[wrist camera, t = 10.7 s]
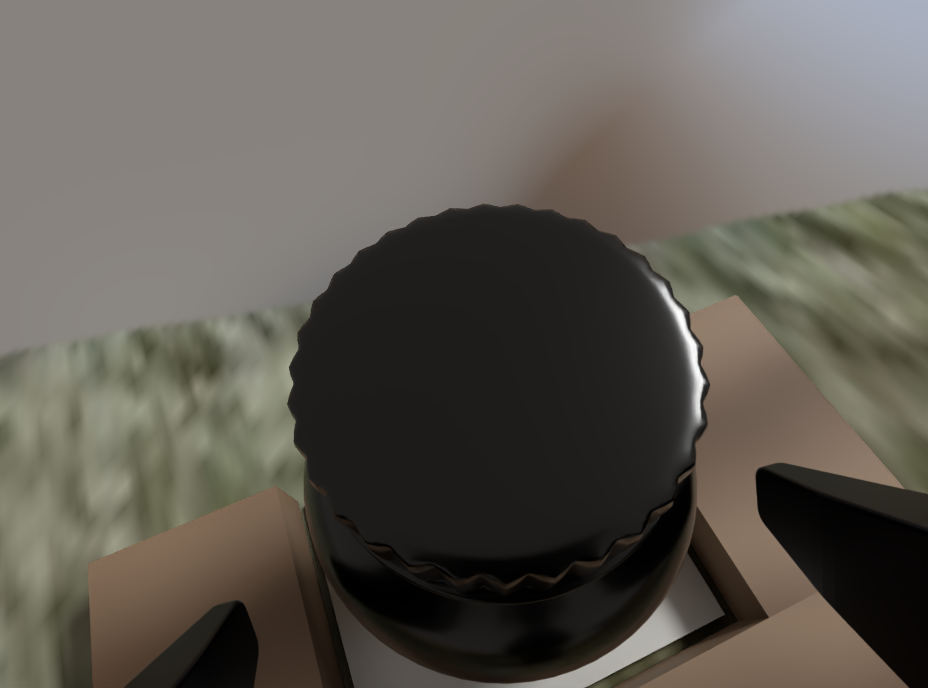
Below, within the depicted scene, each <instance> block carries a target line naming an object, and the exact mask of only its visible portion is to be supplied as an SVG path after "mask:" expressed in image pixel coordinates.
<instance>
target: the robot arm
mask: <svg viewBox="0 0 928 688" xmlns="http://www.w3.org/2000/svg"><path fill="white" fill-rule="evenodd" d="M755 481H756V495H757V508H758V513H759V516H760V518H761V520H762V522H763V523H764V525H765V526H766V527H767V528H768V530H769V531H770V532H771V533H772V535H773V536H774V537H775V538H776V540H777V541H778V542H779V544H780V545H781V546H782V547H783V549H784V550H785V551H786V552H787V554H788V555H789V556H790V557H791V559H792V560H793V561H794V562H795V564H796V565H797V566H798V567H799V569H800V570H801V571H802V572H803V574H804V575H805V576H806V577H807V579H808V580H809V581H810V582H811V584H812V585H813V586H814V587H815V589H816V590H817V591H818V592H819V593H820V594H821V596H822V597H823V598H824V599H825V600H826V601H827V602H828V603H829V605H830V606H831V607H832V608H833V609H834V610H835V611H836V612H837V613H838V614H839V615H840V616H841V617H842V618H843V620H844V621H845V622H846V623H847V624H848V625H849V626H850V627H851V628H852V629H853V630H854V631H855V632H856V633H857V634H858V635H859V636H860V637H861V638H862V639H863V640H864V641H865V643H866V644H867V645H868V646H869V647H870V648H871V649H872V650H873V651H874V652H875V653H876V654H877V655H878V656H879V657H880V658H881V659H882V660H883V661H884V662H885V663H886V664H887V666H888V667H889V668H890V669H891V670H892V671H893V672H894V673H895V674H896V675H897V676H898V677H899V678H900V679H901V680H902V681H903V682H904V683H905V684H906V685H907V686H908V688H928V494H925V493H921V492H916V491H911V490H907V489H902V488H898V487H893V486H888V485H884V484H879V483H875V482H870V481H865V480H861V479H856V478H852V477H847V476H842V475H838V474H833V473H828V472H824V471H819V470H815V469H810V468H805V467H801V466H796V465H792V464H787V463H782V462H780V463H774V464H770V465H766V466H762V467H759V468H758V469H757V471H756V474H755ZM258 657H259V644H258V639H257V636H256V633H255V630H254V628H253V625H252V622H251V620H250V617H249V614H248V611H247V609H246V606H245V604H244V603H243V602H242V601H240V600H233V601H229V602H225V603H221V604H217V605H215V606H213V607H212V608H211V609H210V610H209V611H208V612H207V613H205V614H204V615H203V616H202V617H201V618H200V619H199V620H198V621H197V622H195V623H194V624H193V625H192V626H191V627H190V628H189V629H188V630H187V631H185V632H184V633H183V634H182V635H181V636H180V637H179V638H178V639H177V640H176V641H174V642H173V643H172V644H171V645H170V646H169V647H168V648H167V649H166V650H164V651H163V652H162V653H161V654H160V655H159V656H158V657H157V658H156V659H154V660H153V661H152V662H151V663H150V664H149V665H148V666H147V667H146V668H144V669H143V670H142V671H141V672H140V673H139V674H138V675H137V676H136V677H135V678H133V679H132V680H131V681H130V682H129V683H128V684H127V685H126V686H125V687H123V688H254V685H255V678H256V671H257V664H258Z"/></svg>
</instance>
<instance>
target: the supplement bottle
mask: <svg viewBox="0 0 928 688" xmlns="http://www.w3.org/2000/svg"><path fill="white" fill-rule="evenodd" d="M298 345H299V349H298V351H297V353H296V354H295V356H294V358H293V360H292V362H291V364H290V366H289V370H290V375H291V378H292V380H293V383H294V384H293V387H292V390H291V392H290V396H289V400H288V403H287V405H288V408H289V410H290V412H291V414H292V416H293V418H294V419H295V420H296V423H295V429H294V444H295V447H296V448H297V449H298V451H299V452H300V453H301V454H302V455H303V457H304V458H305V468H304V502H305V510H306V518H307V522H308V527H309V531H310V536H311V539H312V542H313V545H314V548H315V551H316V554H317V557H318V559H319V562H320V564H321V566H322V568H323V570H324V573H325V575H326V577H327V578H328V580H329V582H330V584H331V585H332V587H333V589H334V590H335V592H336V594H337V595H338V597H339V598H340V599H341V601H342V602H343V603H344V605H345V606H346V607H347V609H348V610H349V611H350V612H351V614H352V615H353V616H354V617H355V618H356V619H357V620H358V621H359V622H360V623H361V624H362V626H363V627H364V628H366V629H367V630H368V631H369V632H370V633H371V634H372V635H374V636H375V637H376V638H377V639H378V640H379V641H380V642H382V643H383V644H385V645H386V646H388V647H389V648H391V649H392V650H393V651H395V652H396V653H398V654H399V655H401V656H403V657H405V658H407V659H409V660H410V661H412V662H414V663H416V664H418V665H420V666H423V667H425V668H427V669H430V670H432V671H435V672H437V673H440V674H444V675H447V676H451V677H455V678H458V679H462V680H468V681H475V682H481V683H498V684H512V683H525V682H533V681H538V680H543V679H548V678H553V677H556V676H559V675H563V674H566V673H569V672H572V671H575V670H577V669H579V668H581V667H584V666H586V665H588V664H590V663H592V662H594V661H596V660H598V659H600V658H601V657H603V656H605V655H606V654H608V653H609V652H611V651H613V650H614V649H616V648H617V647H618V646H620V645H621V644H622V643H623V642H625V641H626V640H627V639H628V638H630V637H631V636H632V635H633V634H634V633H635V632H636V631H637V630H638V629H639V628H640V627H641V626H642V625H643V624H644V623H645V622H646V621H647V620H648V619H649V618H650V617H651V616H652V614H653V613H654V612H655V611H656V609H657V608H658V607H659V606H660V604H661V603H662V602H663V600H664V599H665V597H666V595H667V594H668V592H669V590H670V589H671V587H672V586H673V584H674V582H675V580H676V578H677V576H678V574H679V571H680V569H681V567H682V565H683V562H684V560H685V557H686V554H687V551H688V548H689V545H690V541H691V537H692V532H693V528H694V524H695V516H696V508H697V474H696V447H695V444H696V443H697V442H698V441H699V440H700V438H701V437H702V435H703V434H704V433H705V431H706V430H707V427H708V421H707V414H706V411H705V409H704V404H703V402H704V401H705V399H706V397H707V394H708V391H709V388H710V382H709V380H708V377H707V375H706V373H705V371H704V369H703V367H702V366H701V360H702V357H703V345H702V344H701V342H700V341H699V339H698V338H697V337H696V335H695V334H694V333H693V331H692V330H691V320H690V314H689V311H688V310H687V309H686V308H685V307H684V306H683V305H682V304H681V303H680V302H678V301H677V300H676V299H675V298H674V296H673V291H672V287H671V285H670V282H669V281H667V280H666V279H665V278H663V277H662V276H660V275H659V274H657V273H656V272H654V271H653V270H652V269H651V267H650V265H649V262H648V261H647V259H646V258H645V256H643V255H641V254H639V253H637V252H635V251H633V250H630V249H628V248H626V246H625V245H624V244H623V243H622V241H621V240H620V239H619V238H618V237H617V236H616V235H613V234H609V233H606V232H602V231H599V230H597V229H596V228H595V227H593V226H592V225H591V224H590V223H588V222H587V221H586V220H582V219H575V218H567V217H564V216H562V215H561V214H560V213H558V212H556V211H554V210H533V209H530V208H527V207H525V206H522V205H519V204H516V205H509V206H503V207H498V206H493V205H488V204H482V205H478V206H475V207H472V208H469V209H459V208H456V209H455V208H450V209H448V210H446V211H444V212H442V213H440V214H438V215H436V216H430V217H420V218H417V219H416V220H414V221H412V222H411V223H410V224H408V225H407V226H406V227H404V228H400V229H396V230H393V231H389V232H387V233H386V234H385V235H384V236H383V237H381V239H380V240H379V241H378V242H377V243H376V244H374V245H372V246H370V247H366V248H364V249H362V250H360V251H359V252H358V253H357V255H356V256H355V257H354V259H353V260H352V262H351V264H350V265H348V266H347V267H345V268H343V269H341V270H340V271H338V272H336V273H335V274H334V275H333V277H332V279H331V282H330V284H329V287H328V289H327V290H326V291H325V292H324V293H322V294H321V295H319V296H318V297H317V298H316V299H315V300H314V301H313V304H312V308H311V314H310V318H309V319H308V320H307V321H306V322H305V324H304V325H303V326H302V327H301V329H300V330H299V332H298Z"/></svg>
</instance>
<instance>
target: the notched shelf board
mask: <svg viewBox="0 0 928 688" xmlns="http://www.w3.org/2000/svg"><path fill="white" fill-rule="evenodd" d="M690 320H691V330H692V331H693V333H694V334H695V335H696V337H697V338H698V339H699V341H700V342H701V344H702V345H703V357H702V360H701V366H702V367H703V369H704V371H705V373H706V375H707V377H708V380H709V382H710V388H709V391H708V394H707V397H706V399H705V401H704V402H703V404H704V409H705V411H706V414H707V421H708V427H707V430H706V431H705V433H704V434H703V435H702V437H701V438H700V440H699V441H698V442H697V443H696V444H695V447H696V474H697V508H696V516H695V524H694V528H693V532H692V537H691V541H690V544H691V546H692V548H693V549H694V551H695V552H696V554H697V556H698V557H699V559H700V560H701V562H702V564H703V565H704V567H705V569H706V570H707V572H708V573H709V575H710V577H711V578H712V580H713V582H714V583H715V585H716V586H717V588H718V590H719V591H720V593H721V595H722V596H723V598H724V599H725V601H726V603H727V604H728V606H729V607H730V609H731V611H732V612H733V614H734V616H735V617H736V619H737V620H738V621H737V622H735V623H733V624H731V625H729V626H727V627H725V628H724V629H722V630H720V631H718V632H716V633H714V634H712V635H710V636H708V637H707V638H705V639H703V640H701V641H699V642H697V643H695V644H693V645H691V646H690V647H688V648H686V649H684V650H682V651H680V652H678V653H676V654H674V655H672V656H671V657H669V658H667V659H665V660H663V661H661V662H659V663H657V664H655V665H654V666H652V667H650V668H648V669H646V670H644V671H642V672H640V673H638V674H636V675H635V676H633V677H631V678H629V679H627V680H625V681H623V682H621V683H619V684H618V685H616V686H614V687H612V688H908V686H907V685H906V684H905V683H904V682H903V681H902V680H901V679H900V678H899V677H898V676H897V675H896V674H895V673H894V672H893V671H892V670H891V669H890V668H889V667H888V666H887V664H886V663H885V662H884V661H883V660H882V659H881V658H880V657H879V656H878V655H877V654H876V653H875V652H874V651H873V650H872V649H871V648H870V647H869V646H868V645H867V644H866V643H865V641H864V640H863V639H862V638H861V637H860V636H859V635H858V634H857V633H856V632H855V631H854V630H853V629H852V628H851V627H850V626H849V625H848V624H847V623H846V622H845V621H844V620H843V618H842V617H841V616H840V615H839V614H838V613H837V612H836V611H835V610H834V609H833V608H832V607H831V606H830V605H829V603H828V602H827V601H826V600H825V599H824V598H823V597H822V596H821V594H820V593H819V592H818V591H817V590H816V589H815V587H814V586H813V585H812V584H811V582H810V581H809V580H808V579H807V577H806V576H805V575H804V574H803V572H802V571H801V570H800V569H799V567H798V566H797V565H796V564H795V562H794V561H793V560H792V559H791V557H790V556H789V555H788V554H787V552H786V551H785V550H784V549H783V547H782V546H781V545H780V544H779V542H778V541H777V540H776V538H775V537H774V536H773V535H772V533H771V532H770V531H769V530H768V528H767V527H766V526H765V525H764V523H763V522H762V520H761V518H760V516H759V513H758V508H757V495H756V481H755V474H756V471H757V469H758V468H759V467H762V466H766V465H770V464H774V463H780V462H782V463H787V464H792V465H796V466H801V467H805V468H810V469H815V470H819V471H824V472H828V473H833V474H838V475H842V476H847V477H852V478H856V479H861V480H865V481H870V482H875V483H879V484H884V485H888V486H893V487H898V488H902V489H904V488H903V486H902V485H901V484H900V483H899V482H898V481H897V479H896V478H895V477H894V476H893V475H892V474H891V473H890V471H889V470H888V469H887V468H886V467H885V466H884V464H883V463H882V462H881V461H880V460H879V459H878V458H877V456H876V455H875V454H874V453H873V452H872V451H871V449H870V448H869V447H868V446H867V445H866V444H865V443H864V441H863V440H862V439H861V438H860V437H859V436H858V434H857V433H856V432H855V431H854V430H853V429H852V428H851V426H850V425H849V424H848V423H847V422H846V421H845V420H844V418H843V417H842V416H841V415H840V414H839V413H838V411H837V410H836V409H835V408H834V407H833V406H832V405H831V403H830V402H829V401H828V400H827V399H826V398H825V396H824V395H823V394H822V393H821V392H820V391H819V390H818V388H817V387H816V386H815V385H814V384H813V383H812V381H811V380H810V379H809V378H808V377H807V376H806V375H805V373H804V372H803V371H802V370H801V369H800V368H799V366H798V365H797V364H796V363H795V362H794V361H793V360H792V358H791V357H790V356H789V355H788V354H787V353H786V351H785V350H784V349H783V348H782V347H781V346H780V345H779V343H778V342H777V341H776V340H775V339H774V338H773V336H772V335H771V334H770V333H769V332H768V331H767V330H766V328H765V327H764V326H763V325H762V324H761V323H760V322H759V320H758V319H757V318H756V317H755V316H754V315H753V313H752V312H751V311H750V310H749V309H748V308H747V307H746V305H745V304H744V303H743V302H742V301H741V300H740V298H739V297H738V296H737V295H735V296H733V297H730V298H728V299H726V300H723V301H721V302H718V303H716V304H713V305H711V306H709V307H706V308H704V309H701V310H699V311H697V312H694V313H692V314H690ZM325 577H326V575H325ZM326 581H327V584H328V588H329V592H330V596H331V600H332V604H333V608H334V611H335V615H336V619H337V623H338V627H339V631H340V634H341V638H342V642H343V646H344V650H345V654H346V658H347V661H348V665H349V669H350V673H351V677H352V681H353V684H354V688H585V687H587V686H589V685H591V684H593V683H595V682H597V681H599V680H601V679H603V678H605V677H606V676H608V675H610V674H612V673H614V672H616V671H618V670H620V669H622V668H624V667H626V666H627V665H629V664H631V663H633V662H635V661H637V660H639V659H641V658H643V657H645V656H647V655H648V654H650V653H652V652H654V651H656V650H658V649H660V648H662V647H664V646H666V645H668V644H670V643H671V642H673V641H675V640H677V639H679V638H681V637H683V636H685V635H687V634H689V633H691V632H692V631H694V630H696V629H698V628H700V627H702V626H704V625H706V624H708V623H710V622H712V621H713V620H715V619H717V618H719V617H721V616H723V615H725V613H724V612H723V610H722V609H721V607H720V605H719V604H718V602H717V600H716V599H715V597H714V595H713V594H712V592H711V590H710V589H709V587H708V586H707V584H706V582H705V581H704V579H703V577H702V576H701V574H700V572H699V571H698V569H697V568H696V566H695V564H694V563H693V561H692V559H691V558H690V556H689V554H688V553H687V554H686V557H685V560H684V562H683V565H682V567H681V569H680V571H679V574H678V576H677V578H676V580H675V582H674V584H673V586H672V587H671V589H670V590H669V592H668V594H667V595H666V597H665V599H664V600H663V602H662V603H661V604H660V606H659V607H658V608H657V609H656V611H655V612H654V613H653V614H652V616H651V617H650V618H649V619H648V620H647V621H646V622H645V623H644V624H643V625H642V626H641V627H640V628H639V629H638V630H637V631H636V632H635V633H634V634H633V635H632V636H631V637H630V638H628V639H627V640H626V641H625V642H623V643H622V644H621V645H620V646H618V647H617V648H616V649H614V650H613V651H611V652H609V653H608V654H606V655H605V656H603V657H601V658H600V659H598V660H596V661H594V662H592V663H590V664H588V665H586V666H584V667H581V668H579V669H577V670H575V671H572V672H569V673H566V674H563V675H559V676H556V677H553V678H548V679H543V680H538V681H533V682H525V683H512V684H498V683H481V682H475V681H468V680H462V679H458V678H455V677H451V676H447V675H444V674H440V673H437V672H435V671H432V670H430V669H427V668H425V667H423V666H420V665H418V664H416V663H414V662H412V661H410V660H409V659H407V658H405V657H403V656H401V655H399V654H398V653H396V652H395V651H393V650H392V649H391V648H389V647H388V646H386V645H385V644H383V643H382V642H380V641H379V640H378V639H377V638H376V637H375V636H374V635H372V634H371V633H370V632H369V631H368V630H367V629H366V628H364V627H363V626H362V624H361V623H360V622H359V621H358V620H357V619H356V618H355V617H354V616H353V615H352V614H351V612H350V611H349V610H348V609H347V607H346V606H345V605H344V603H343V602H342V601H341V599H340V598H339V597H338V595H337V594H336V592H335V590H334V589H333V587H332V585H331V584H330V582H329V580H328V578H327V577H326ZM88 584H89V609H90V634H91V659H92V684H93V688H123V687H125V686H126V685H127V684H128V683H129V682H130V681H131V680H132V679H133V678H135V677H136V676H137V675H138V674H139V673H140V672H141V671H142V670H143V669H144V668H146V667H147V666H148V665H149V664H150V663H151V662H152V661H153V660H154V659H156V658H157V657H158V656H159V655H160V654H161V653H162V652H163V651H164V650H166V649H167V648H168V647H169V646H170V645H171V644H172V643H173V642H174V641H176V640H177V639H178V638H179V637H180V636H181V635H182V634H183V633H184V632H185V631H187V630H188V629H189V628H190V627H191V626H192V625H193V624H194V623H195V622H197V621H198V620H199V619H200V618H201V617H202V616H203V615H204V614H205V613H207V612H208V611H209V610H210V609H211V608H212V607H213V606H215V605H217V604H221V603H225V602H229V601H233V600H240V601H242V602H243V603H244V604H245V606H246V609H247V611H248V614H249V617H250V620H251V622H252V625H253V628H254V630H255V633H256V636H257V639H258V644H259V657H258V664H257V671H256V678H255V685H254V688H345V687H344V683H343V679H342V675H341V671H340V667H339V663H338V659H337V655H336V651H335V647H334V643H333V639H332V635H331V631H330V627H329V623H328V619H327V615H326V611H325V607H324V603H323V599H322V595H321V591H320V587H319V583H318V579H317V575H316V572H315V568H314V564H313V560H312V556H311V552H310V548H309V544H308V540H307V536H306V532H305V528H304V524H303V520H302V516H301V512H300V508H299V504H298V501H296V500H295V499H293V498H292V497H291V496H289V495H288V494H286V493H285V492H284V491H282V490H281V489H280V488H278V487H277V486H274V487H272V488H269V489H267V490H265V491H262V492H260V493H257V494H255V495H253V496H250V497H248V498H245V499H243V500H241V501H238V502H236V503H233V504H231V505H228V506H226V507H224V508H221V509H219V510H216V511H214V512H212V513H209V514H207V515H204V516H202V517H199V518H197V519H195V520H192V521H190V522H187V523H185V524H183V525H180V526H178V527H175V528H173V529H171V530H168V531H166V532H163V533H161V534H158V535H156V536H154V537H151V538H149V539H146V540H144V541H142V542H139V543H137V544H134V545H132V546H130V547H127V548H125V549H122V550H120V551H117V552H115V553H113V554H110V555H108V556H105V557H103V558H101V559H98V560H96V561H93V562H91V563H88Z"/></svg>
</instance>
